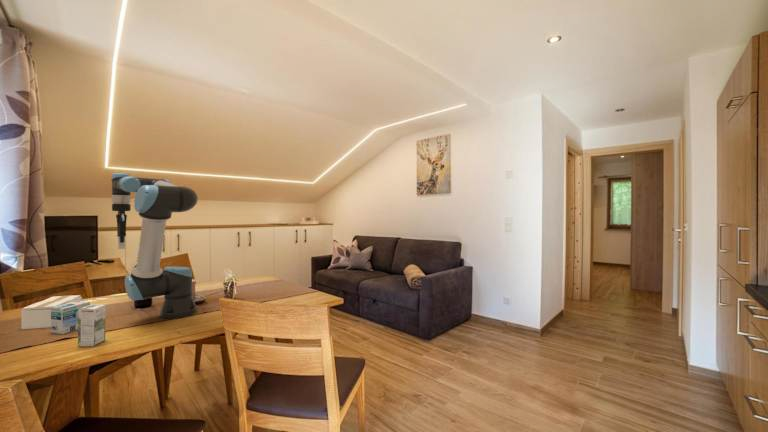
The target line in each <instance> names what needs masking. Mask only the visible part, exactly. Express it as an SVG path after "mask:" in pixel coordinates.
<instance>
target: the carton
mask: <svg viewBox="0 0 768 432" xmlns="http://www.w3.org/2000/svg"><path fill="white" fill-rule="evenodd" d="M75 301H83V297H82V296H81V297H79V298H77V299H75V300H73V301H71V302H75ZM71 302H69V303H71ZM67 303H68V301H49V302H41V301H37V302H34V303H32V304H30V305H27V306H25V307H22V309H21V311H20V313H21V314H20V315H21V318H20V319H21V321H20V322H21V323H20V324H21V330H32V329H46V328H51V307H55V306H59V305H63V304H67Z"/></svg>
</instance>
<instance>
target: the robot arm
mask: <svg viewBox="0 0 768 432" xmlns="http://www.w3.org/2000/svg"><path fill="white" fill-rule="evenodd" d="M131 193H135V195H134V200H133V203H134V205H133V206H134V210H135V212H137V213H138V216H139V217H140V218H141V219H142V221H141V228H140V229H141V230H140V237H139V243H138V252H137V258H136V259H137V260H136V267H133V268H132V269H131V273H130V274H128V275H126V276H125V278H124V287H125V292H126V294H127V296H128V298H129V299H130V301H140V300H141V301H143V300H146V299H151V298H152V299H153V298H156V297H158V298H159V297H162V296H163V297H164V300H163V303H162V305H161V308H160V311H159V317H160V318H162V319H179V318H183V317H189V316H191V315H193V314H195V313H196V312H197V306H196V303H195V301H194V298H193V277H194V276H193V271H192V268H190V267H188V266H187V267H186V266H175V265H173V266H165V267H164V268H163V269H162V267H160V266H161V265H160V264H161V261H162V260H161V259H162V253H163V248H164V247H163V246H164V239H165V232H166V227H167V221H168V220H170V219H172V214H173V213H184V212H189V211H190V210H192V209H193V208H194V207H195V206H196V205H197V203H198V198H199V197H198V195H197V192H196V191H195V190H194V189H192V188H190V187H186V186H178V185H176V184H174V183H171V180H169V179H164V178H148V177H136V176H135V177H134V176H131V175H130V174H128V173H122V172H121V173H120V172H119V173H118V172H116V173H115V172H114V173H112V174H111V203H112V204H111V210H112V211H113V212H117V214H115V217H116V227H117V228H116V229H117V230H116V232H117V234H116V237H117V250H122V249H123V250H124V249H126V237H127V233H126V232H127V219H128V218H127V217H128V216H127V215H128V214H126V212H130V211H131V209H132V208H131V204H130V203H131V200H132V199H133V197H131Z"/></svg>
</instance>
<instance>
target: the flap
mask: <svg viewBox="0 0 768 432" xmlns="http://www.w3.org/2000/svg"><path fill="white" fill-rule="evenodd" d="M79 297H82V296H81V294H78V295H77V294H76V295H72V294H71V295H59V296H58V295H57V296H53V295H52V296H50V297H49V298H46V299H44V300H41V301H40V302H49V301H68V303H69V302H71V301H73V300H75V299H77V298H79Z"/></svg>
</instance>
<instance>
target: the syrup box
mask: <svg viewBox="0 0 768 432" xmlns="http://www.w3.org/2000/svg"><path fill="white" fill-rule="evenodd" d="M106 311H107V309H106V304H100V303H99V304H97V303H95V304H94V303H93V304H90V305H89V306H86V307H83V308H81V309H79V310H78V333H77V334H78V335H77V347H95V346H97V345H99V344H101V343H103V342H104V341H106V320H107V319H106V317H107V316H106V314H107V313H106Z"/></svg>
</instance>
